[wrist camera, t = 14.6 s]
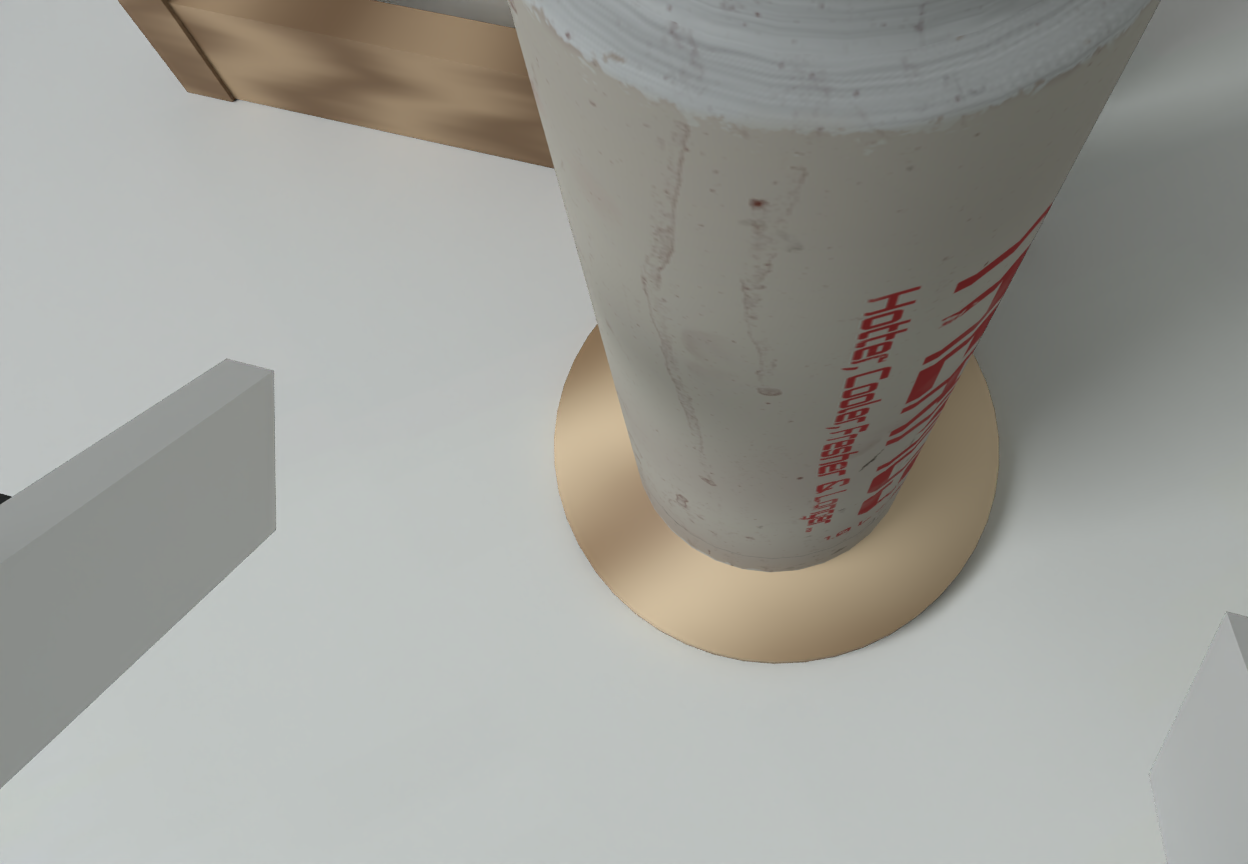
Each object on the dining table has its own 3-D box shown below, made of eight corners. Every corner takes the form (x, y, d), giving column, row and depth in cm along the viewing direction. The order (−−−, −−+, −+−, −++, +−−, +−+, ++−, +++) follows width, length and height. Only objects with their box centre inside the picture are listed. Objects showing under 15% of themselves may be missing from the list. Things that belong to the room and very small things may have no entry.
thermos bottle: (964, 477, 32) (2010, -997, 6) (730, 627, 32) (724, -289, 5) (804, 269, 35) (1037, -1425, 8) (585, 403, 34) (77, -990, 8)
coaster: (470, 443, 35) (466, 437, 34) (769, 174, 37) (769, 164, 36) (775, 763, 31) (776, 762, 30) (1088, 444, 33) (1095, 438, 32)
